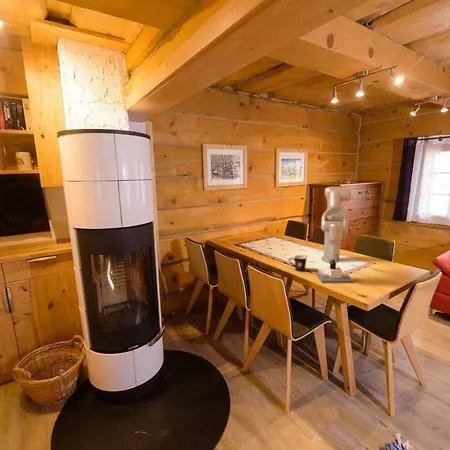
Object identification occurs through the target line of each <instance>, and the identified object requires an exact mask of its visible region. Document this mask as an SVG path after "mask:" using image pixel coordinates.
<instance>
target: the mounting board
mask: <svg viewBox="0 0 450 450" xmlns="http://www.w3.org/2000/svg"><path fill="white" fill-rule="evenodd" d="M320 274H321V273H316V277H317V278H318V280H319V281H320V282H321V283H322V284H324V283H325V284H326V283H327V284H328V283H329V284H332V283H333V284H337V283H338V284H341V283H342V284H351V283H352V284H353V283H354V280H353V279H352V278H351V276H349V278H321V277H320Z"/></svg>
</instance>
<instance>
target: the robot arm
mask: <svg viewBox="0 0 450 450" xmlns="http://www.w3.org/2000/svg"><path fill="white" fill-rule="evenodd" d="M324 195H325V199H326V202H327V206H326V207H327V208H326V210H325V211H324V212H323V214H322V216H321V221H320V222H321V225H320V226H321V227H320V229H321V230H322V231H323V232H324V242H323V243H324V246H323V256H322V257H321V261H322V262H325V263H329V267H330V269H336V267H337V263H338V262H339V260H340V256H341V255H340V253H341V248H340V246H341V245H342V235H347V234H348V232H349V221H350V212H349V209H347V208H343V207H342V206H343V205H342V202H350V201H351V199H352V190H351V188H350V187H348V186H328V187H326V188H325V189H324ZM326 219H327V220H326Z"/></svg>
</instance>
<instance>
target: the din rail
mask: <svg viewBox="0 0 450 450" xmlns="http://www.w3.org/2000/svg"><path fill="white" fill-rule="evenodd" d="M319 274H320V277H321V278H330V275H329V274H328V273H319ZM349 277H350V275H349V273H342V277H341V278H349Z"/></svg>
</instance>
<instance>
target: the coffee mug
mask: <svg viewBox="0 0 450 450" xmlns="http://www.w3.org/2000/svg"><path fill="white" fill-rule="evenodd" d="M292 259H293V261H294V263H293V262H292V261H291V260H292ZM288 261H289V264H291V265H292V266H294V268H295V271H296V272H301V273H302V272H305V271H306V270H305V269H306V264H307V256H305V255H301V254H300V255H299V254H298V255H294V257H290V258H289V259H288Z"/></svg>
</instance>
